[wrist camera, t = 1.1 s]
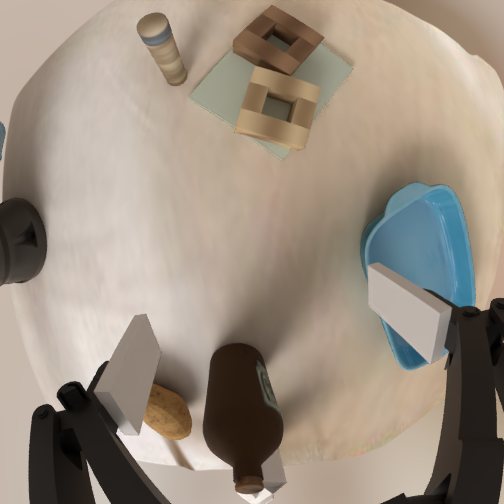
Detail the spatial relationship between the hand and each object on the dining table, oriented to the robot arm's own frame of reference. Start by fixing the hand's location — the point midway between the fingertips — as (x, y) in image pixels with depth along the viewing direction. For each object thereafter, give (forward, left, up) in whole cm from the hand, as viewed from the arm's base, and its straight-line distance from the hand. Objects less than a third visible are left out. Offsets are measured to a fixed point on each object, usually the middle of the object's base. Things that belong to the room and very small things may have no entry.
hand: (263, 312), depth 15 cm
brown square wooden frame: (-12, +26, -24) cm, 37 cm away
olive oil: (+13, -19, -25) cm, 34 cm away
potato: (+6, -34, -25) cm, 43 cm away
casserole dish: (+31, +12, -26) cm, 42 cm away
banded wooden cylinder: (-21, +14, -25) cm, 36 cm away
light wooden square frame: (-6, +17, -24) cm, 30 cm away
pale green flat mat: (-9, +22, -25) cm, 34 cm away
